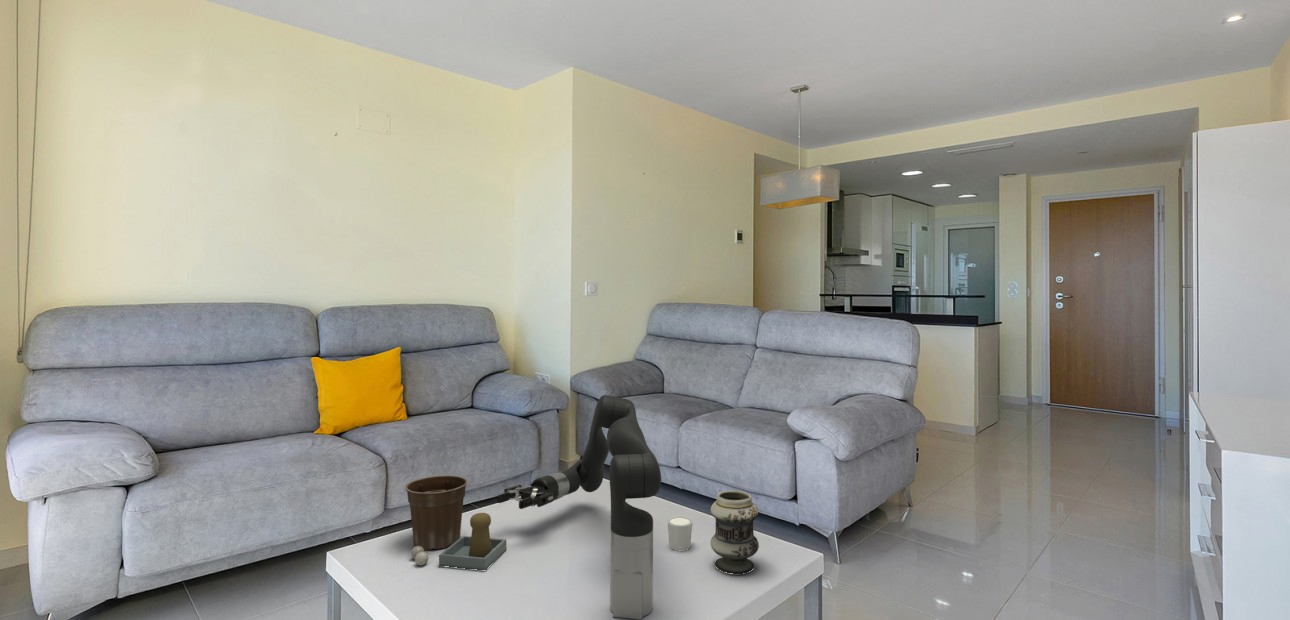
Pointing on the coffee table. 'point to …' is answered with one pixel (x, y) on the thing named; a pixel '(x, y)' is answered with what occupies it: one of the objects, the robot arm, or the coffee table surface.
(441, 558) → the slate dish
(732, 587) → the coffee table surface
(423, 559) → the pebble
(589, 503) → the coffee table surface
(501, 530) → the coffee table surface
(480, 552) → the cork
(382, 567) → the coffee table surface
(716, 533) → the apothecary jar
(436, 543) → the plant pot
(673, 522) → the white cup
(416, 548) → the pebble
